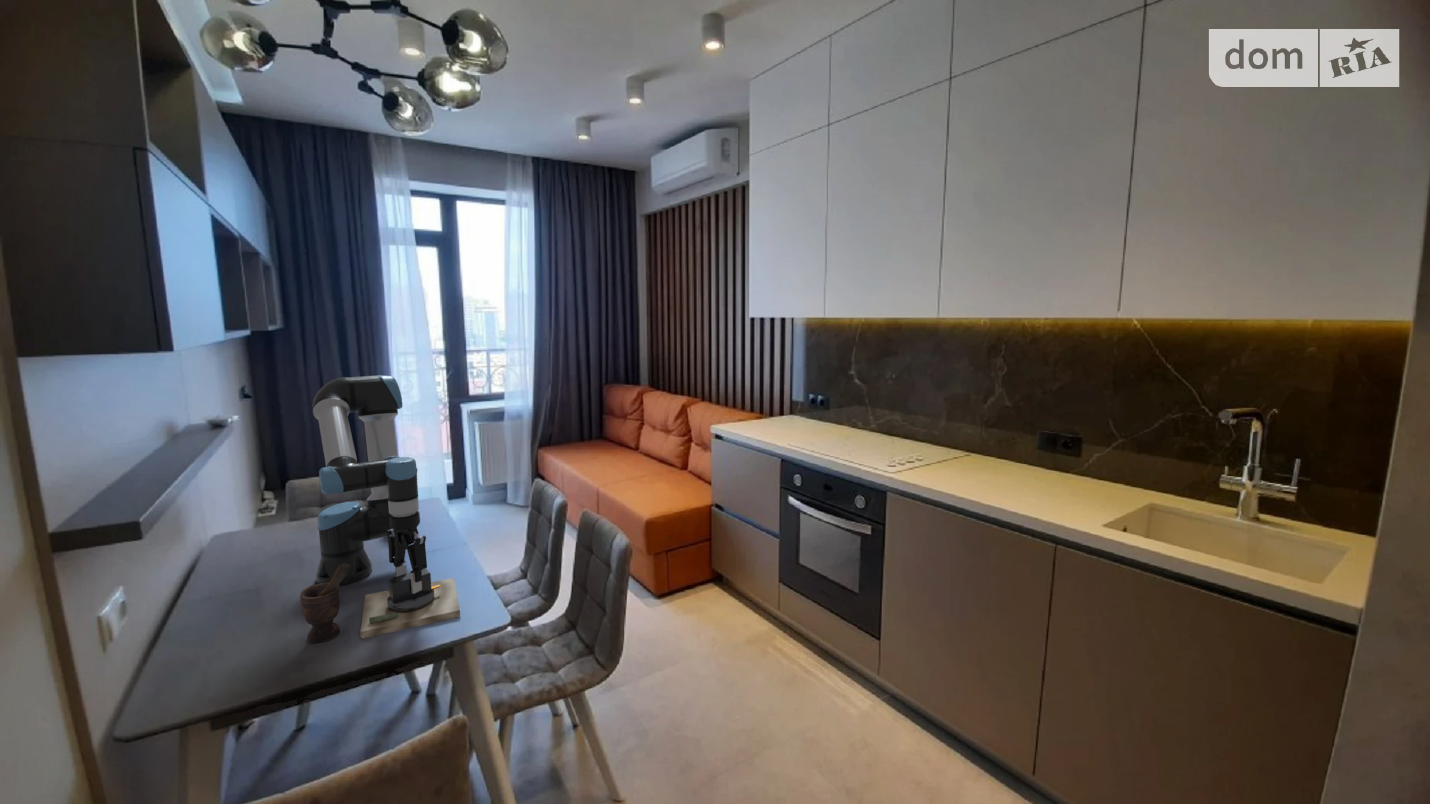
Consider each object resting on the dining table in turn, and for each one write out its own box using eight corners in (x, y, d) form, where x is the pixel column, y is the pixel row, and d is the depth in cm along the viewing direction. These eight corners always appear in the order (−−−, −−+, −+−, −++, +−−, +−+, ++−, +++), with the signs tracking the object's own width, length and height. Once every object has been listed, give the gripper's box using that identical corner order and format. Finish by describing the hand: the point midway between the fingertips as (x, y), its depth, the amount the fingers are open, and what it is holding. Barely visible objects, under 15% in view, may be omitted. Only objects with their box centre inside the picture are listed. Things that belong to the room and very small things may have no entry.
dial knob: (394, 617, 154) (391, 590, 153) (382, 600, 163) (380, 575, 161) (447, 600, 164) (445, 574, 162) (434, 585, 172) (432, 561, 171)
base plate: (360, 638, 148) (359, 626, 147) (366, 601, 167) (365, 589, 166) (460, 616, 159) (459, 604, 158) (454, 583, 178) (453, 573, 178)
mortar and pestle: (358, 621, 156) (352, 553, 153) (355, 636, 149) (349, 566, 145) (307, 631, 150) (300, 561, 147) (302, 648, 143) (294, 575, 140)
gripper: (438, 513, 158) (443, 590, 161) (395, 503, 165) (400, 577, 169) (414, 522, 151) (419, 602, 155) (370, 511, 159) (376, 587, 162)
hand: (409, 589), depth 162 cm, fingers closed on dial knob, 5 cm apart
